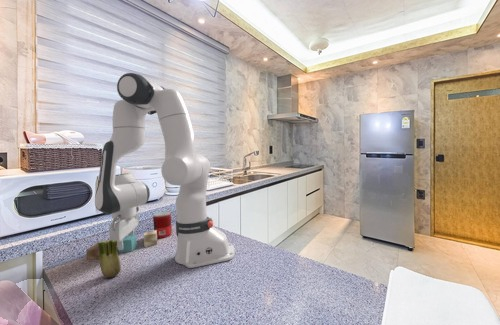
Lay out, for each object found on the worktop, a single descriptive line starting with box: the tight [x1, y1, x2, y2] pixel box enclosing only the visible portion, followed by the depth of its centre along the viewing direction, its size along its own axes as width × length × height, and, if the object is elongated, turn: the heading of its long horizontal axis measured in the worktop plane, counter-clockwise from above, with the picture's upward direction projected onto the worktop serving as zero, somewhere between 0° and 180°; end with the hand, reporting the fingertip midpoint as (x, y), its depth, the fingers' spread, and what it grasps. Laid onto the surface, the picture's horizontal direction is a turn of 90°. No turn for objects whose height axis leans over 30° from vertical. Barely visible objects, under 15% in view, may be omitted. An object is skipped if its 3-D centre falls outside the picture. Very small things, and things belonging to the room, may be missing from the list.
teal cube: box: [118, 234, 138, 254], centre depth 93 cm, size 5×5×5 cm
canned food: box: [152, 210, 173, 239], centre depth 107 cm, size 8×8×11 cm
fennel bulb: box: [97, 239, 122, 279], centre depth 73 cm, size 6×5×12 cm
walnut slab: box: [85, 241, 109, 261], centre depth 89 cm, size 7×7×4 cm
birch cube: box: [143, 229, 158, 248], centre depth 98 cm, size 5×5×5 cm
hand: (126, 244), depth 93 cm, fingers open, 8 cm apart
